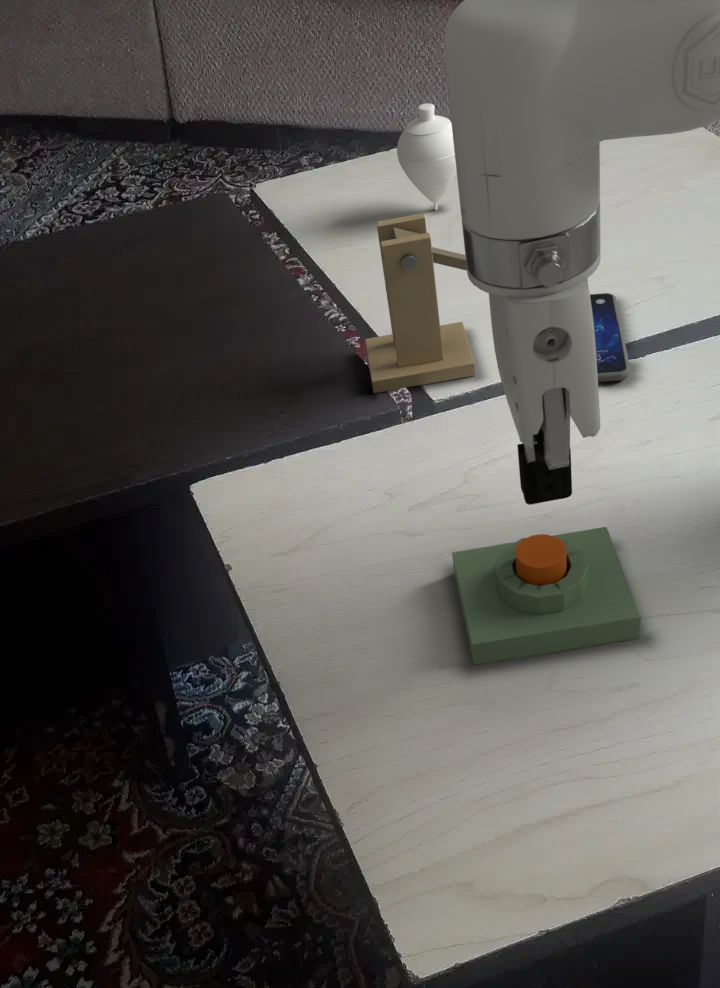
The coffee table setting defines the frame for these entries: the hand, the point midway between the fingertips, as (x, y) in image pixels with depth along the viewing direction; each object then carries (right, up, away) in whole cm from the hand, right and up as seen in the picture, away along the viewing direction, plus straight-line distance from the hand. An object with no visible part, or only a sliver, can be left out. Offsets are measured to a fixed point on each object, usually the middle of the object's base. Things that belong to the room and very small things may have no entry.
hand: (546, 493), depth 73 cm
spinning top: (-3, +42, +56) cm, 70 cm away
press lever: (-4, +24, +26) cm, 36 cm away
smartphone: (+9, +19, +31) cm, 37 cm away
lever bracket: (-7, +17, +33) cm, 38 cm away
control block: (+1, -7, +7) cm, 10 cm away
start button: (0, -5, +5) cm, 7 cm away
